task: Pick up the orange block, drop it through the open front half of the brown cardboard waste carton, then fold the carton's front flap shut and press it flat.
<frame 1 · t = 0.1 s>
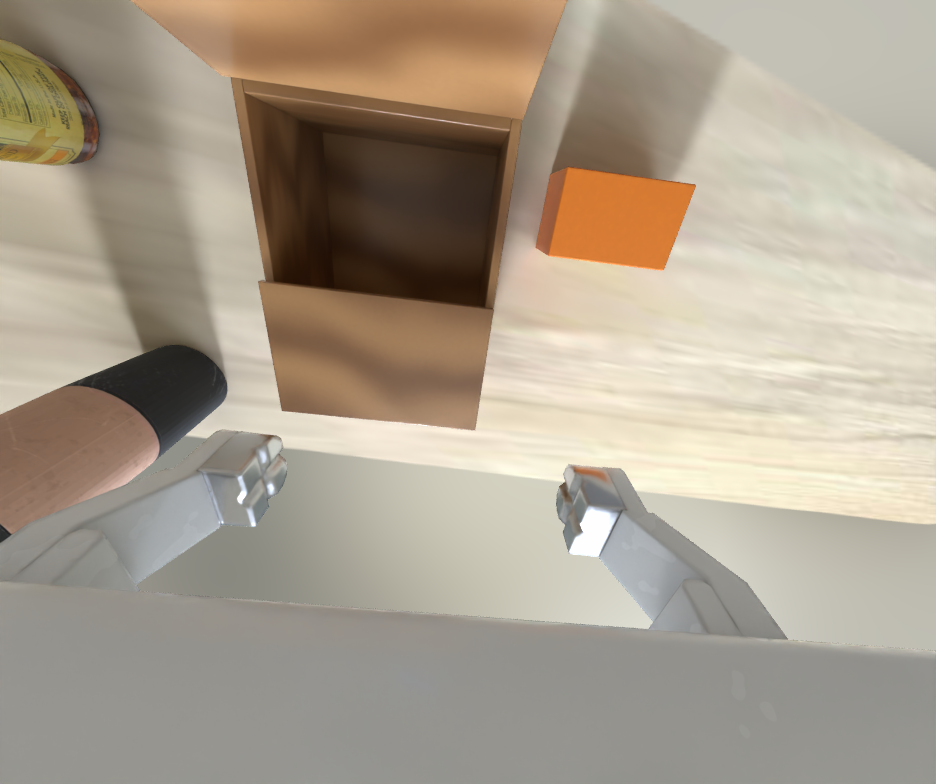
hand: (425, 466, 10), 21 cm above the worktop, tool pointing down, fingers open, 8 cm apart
orange block: (593, 219, 26), on the worktop
travel mug: (191, 377, 33), on the worktop
carton: (408, 265, 27), on the worktop
sauce bottle: (63, 115, 23), on the worktop
carton flap: (341, 22, 10), point 14 cm above the worktop, hinge at 100.0°
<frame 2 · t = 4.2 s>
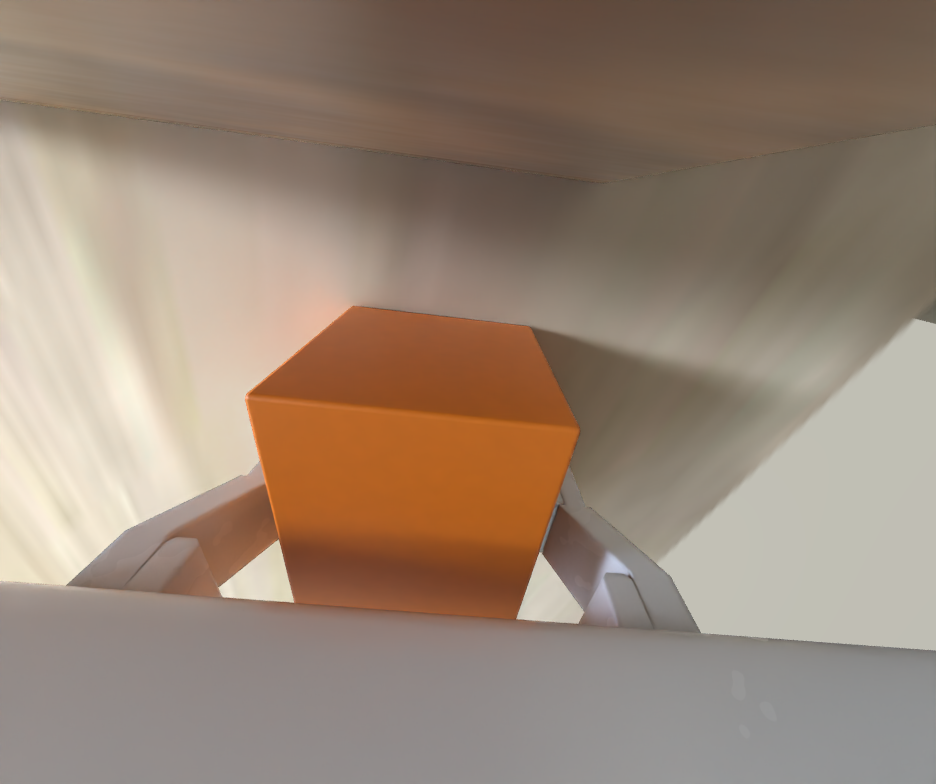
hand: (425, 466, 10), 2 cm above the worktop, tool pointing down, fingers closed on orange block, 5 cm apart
orange block: (433, 432, 11), on the worktop, touching gripper
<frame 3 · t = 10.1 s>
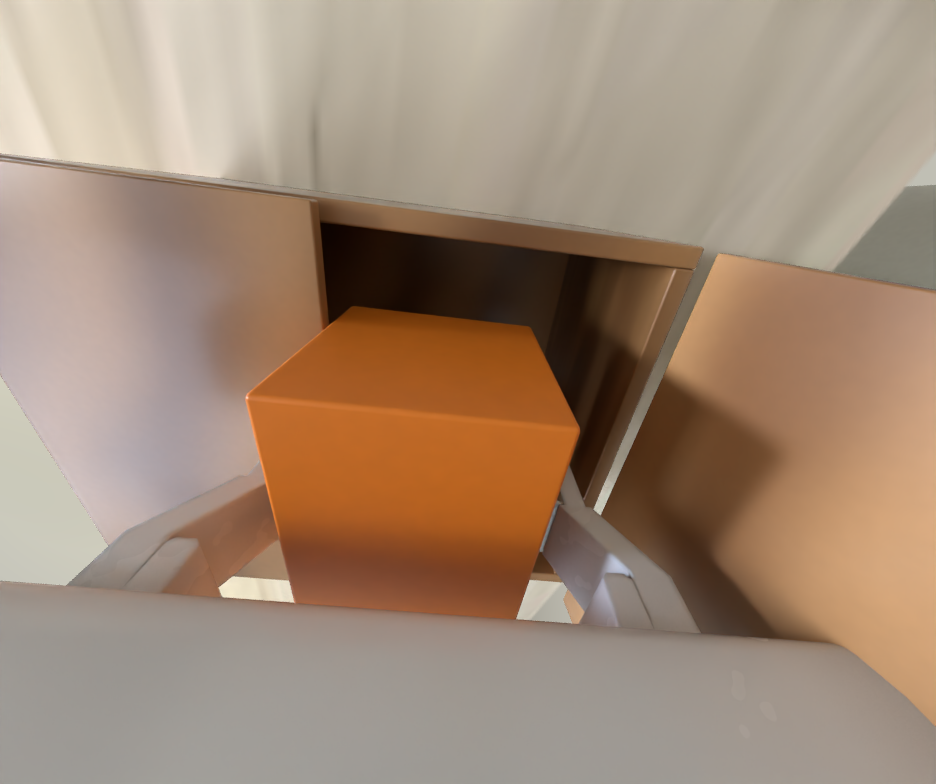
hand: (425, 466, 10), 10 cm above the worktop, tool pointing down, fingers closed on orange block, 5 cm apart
orange block: (433, 432, 11), point 9 cm above the worktop, touching gripper
carton: (402, 335, 19), on the worktop
carton flap: (739, 630, 7), point 14 cm above the worktop, hinge at 100.0°
when the fingers open (13 cm above the worktop, at t = 28.4 s): orange block drops 11 cm, resting on carton.
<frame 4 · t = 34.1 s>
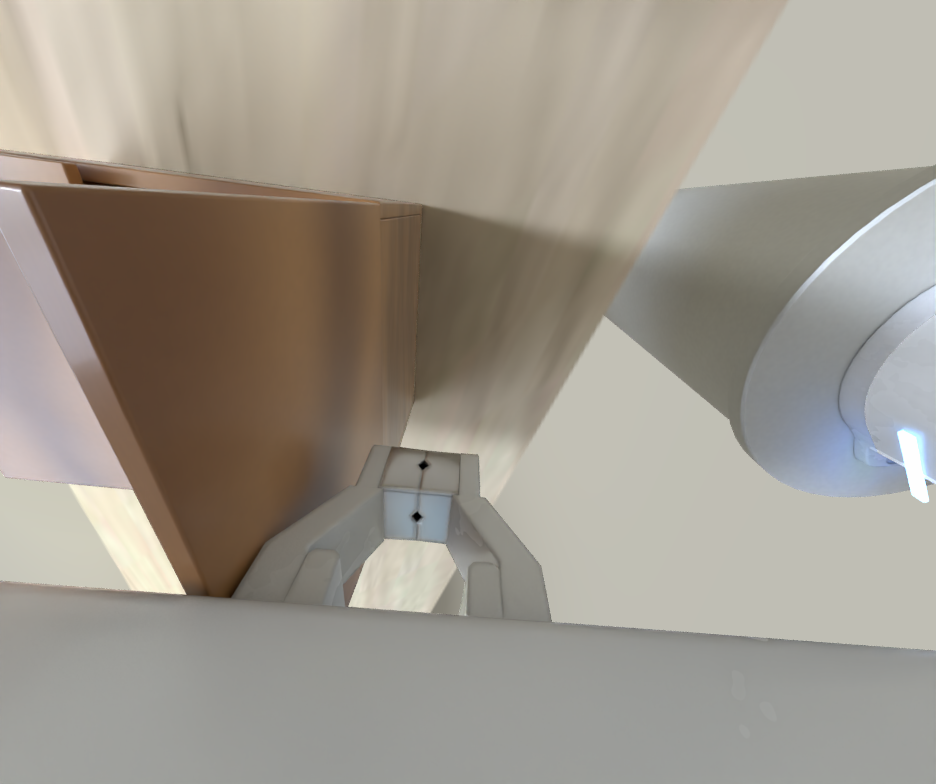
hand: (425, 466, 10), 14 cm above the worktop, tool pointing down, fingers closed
carton: (284, 302, 21), on the worktop
carton flap: (329, 468, 9), point 14 cm above the worktop, hinge at 86.6°, touching gripper
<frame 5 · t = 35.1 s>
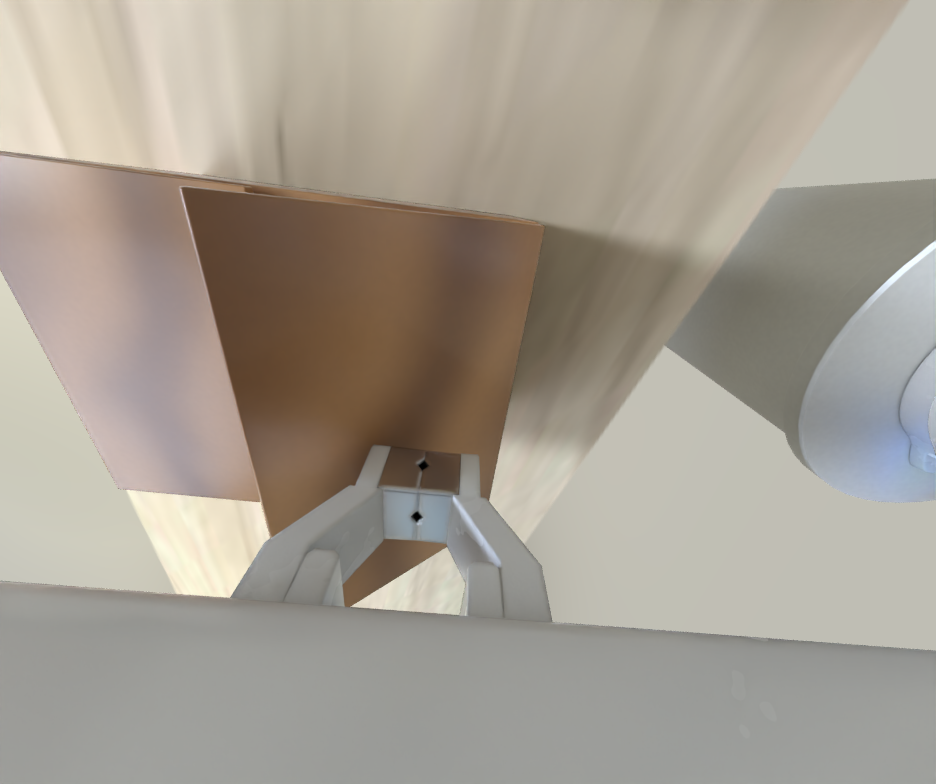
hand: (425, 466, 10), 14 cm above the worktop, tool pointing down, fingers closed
carton: (362, 311, 22), on the worktop
carton flap: (410, 442, 11), point 13 cm above the worktop, hinge at 39.8°
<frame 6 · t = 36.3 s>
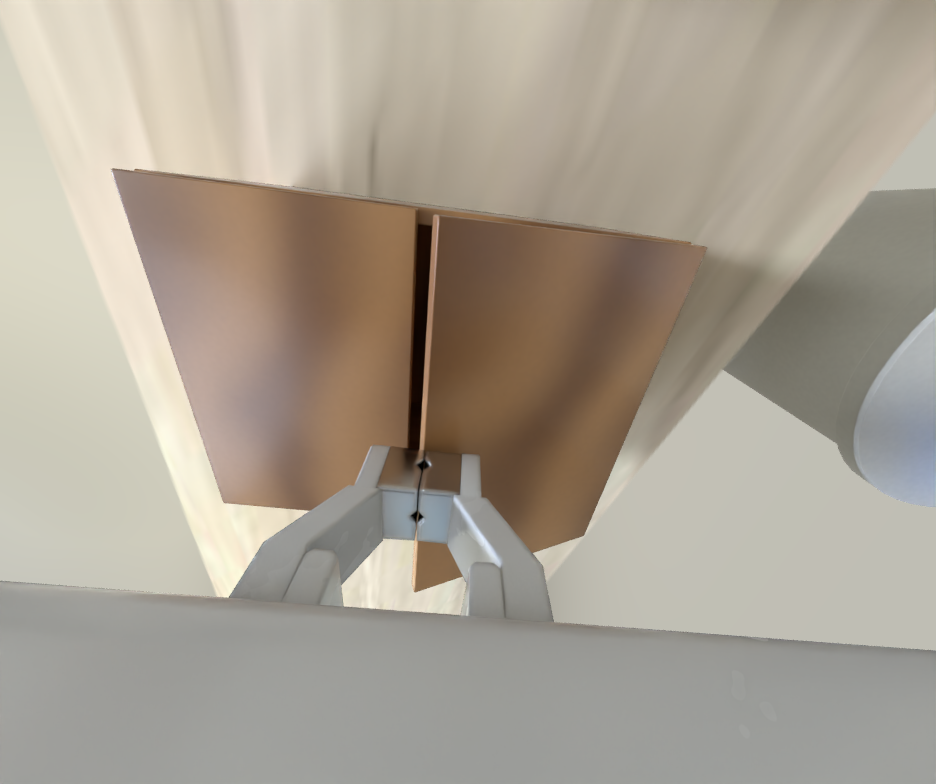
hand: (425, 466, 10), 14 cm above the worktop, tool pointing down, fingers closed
carton: (437, 321, 22), on the worktop
carton flap: (538, 439, 11), point 12 cm above the worktop, hinge at 23.5°, touching gripper
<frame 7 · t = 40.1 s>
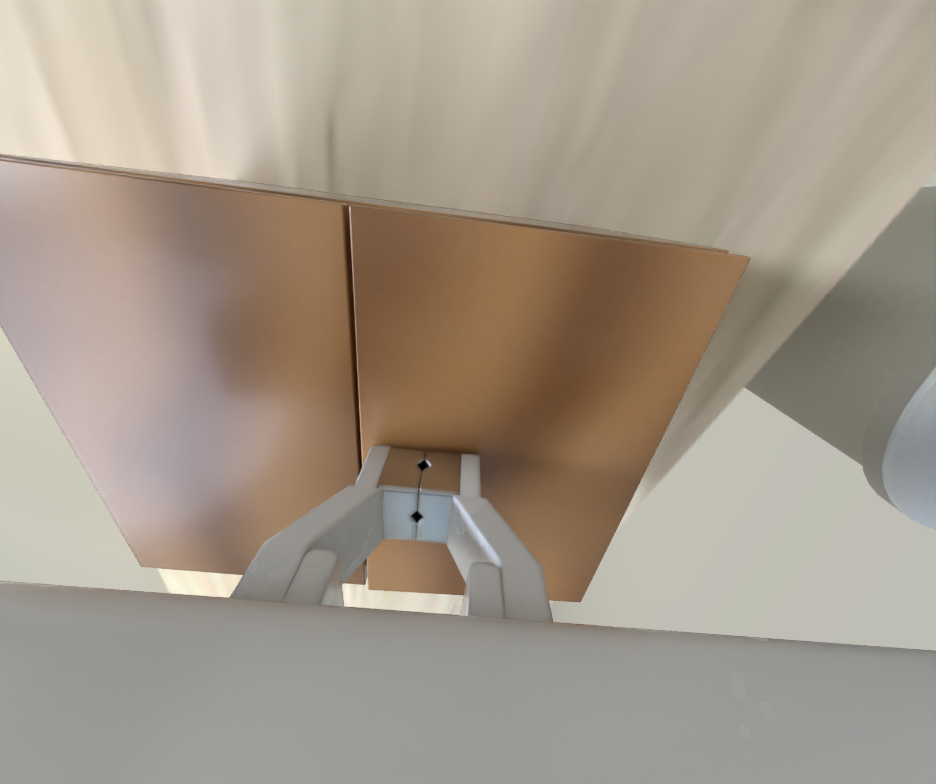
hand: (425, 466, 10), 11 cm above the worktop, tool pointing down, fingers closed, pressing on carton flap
carton: (414, 336, 19), on the worktop
carton flap: (503, 467, 10), point 10 cm above the worktop, hinge at 1.1°, touching gripper
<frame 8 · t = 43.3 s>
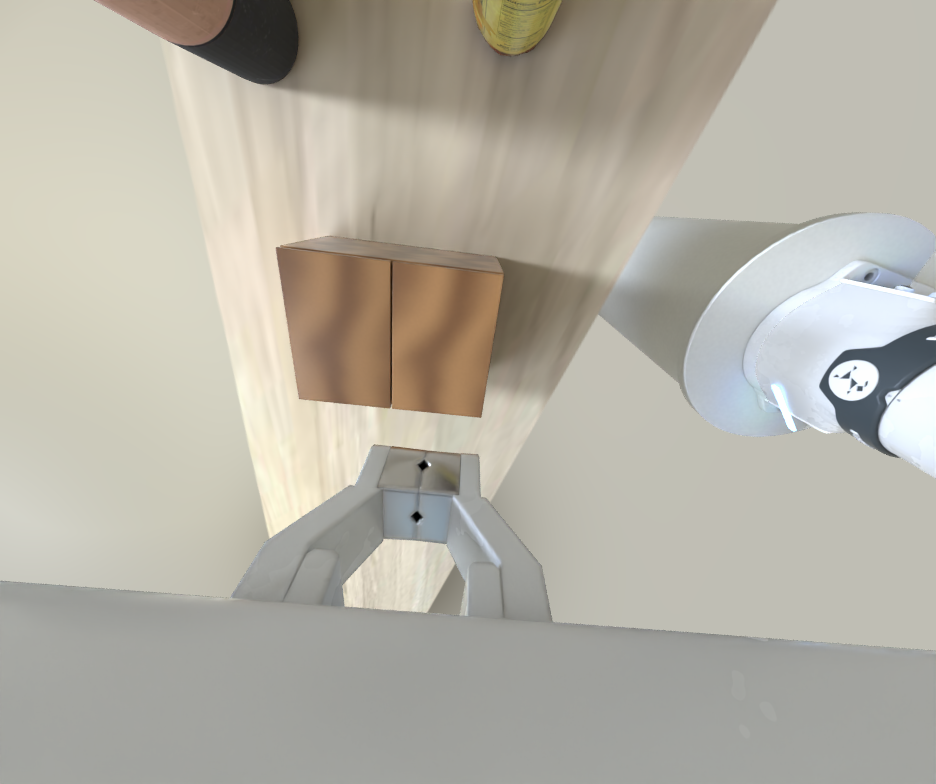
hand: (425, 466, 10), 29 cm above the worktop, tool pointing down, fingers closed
travel mug: (254, 26, 26), on the worktop
carton: (411, 309, 37), on the worktop
sauce bottle: (512, 11, 26), on the worktop
carton flap: (442, 348, 28), point 10 cm above the worktop, hinge at 0.0°
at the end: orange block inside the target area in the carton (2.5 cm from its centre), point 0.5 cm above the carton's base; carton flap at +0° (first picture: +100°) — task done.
